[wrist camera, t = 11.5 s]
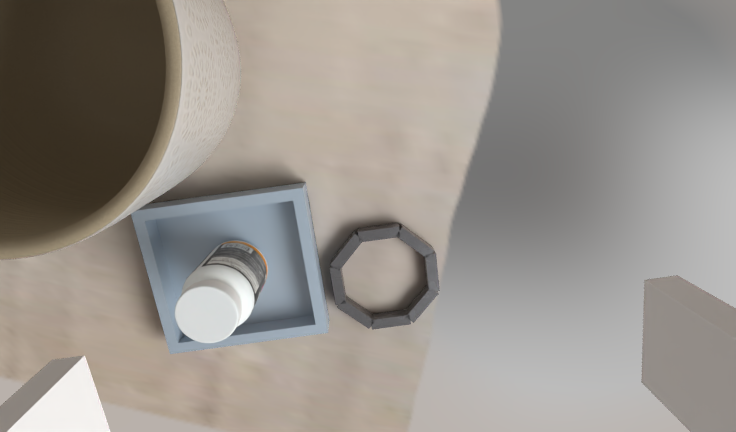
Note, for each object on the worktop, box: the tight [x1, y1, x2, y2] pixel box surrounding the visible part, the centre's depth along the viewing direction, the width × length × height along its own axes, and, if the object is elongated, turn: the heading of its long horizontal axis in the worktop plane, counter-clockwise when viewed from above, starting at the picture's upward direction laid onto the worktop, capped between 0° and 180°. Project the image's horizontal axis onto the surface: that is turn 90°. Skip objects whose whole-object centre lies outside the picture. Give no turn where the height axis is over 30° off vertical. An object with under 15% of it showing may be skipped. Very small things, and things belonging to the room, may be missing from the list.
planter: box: [0, 0, 241, 260], centre depth 30 cm, size 21×21×19 cm
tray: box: [131, 182, 329, 354], centre depth 42 cm, size 14×15×2 cm
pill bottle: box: [175, 240, 268, 343], centre depth 38 cm, size 6×6×10 cm
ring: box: [330, 223, 440, 329], centre depth 44 cm, size 10×10×1 cm
